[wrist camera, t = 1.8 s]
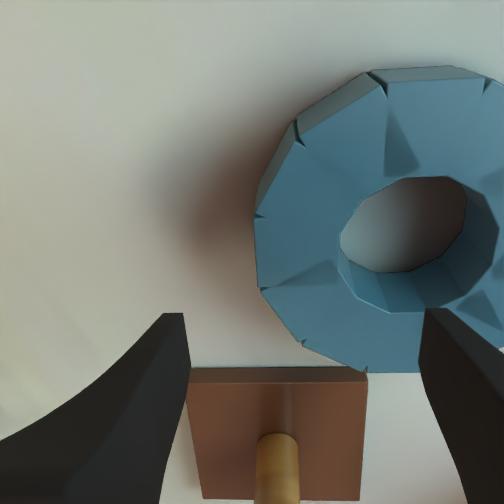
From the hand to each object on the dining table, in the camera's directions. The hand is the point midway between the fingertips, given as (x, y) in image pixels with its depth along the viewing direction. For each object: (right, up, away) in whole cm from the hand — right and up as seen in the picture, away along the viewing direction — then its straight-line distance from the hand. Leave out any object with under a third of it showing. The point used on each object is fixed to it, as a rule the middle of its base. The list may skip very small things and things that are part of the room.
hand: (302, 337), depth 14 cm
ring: (+5, +4, +7) cm, 10 cm away
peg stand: (0, -8, +14) cm, 17 cm away
